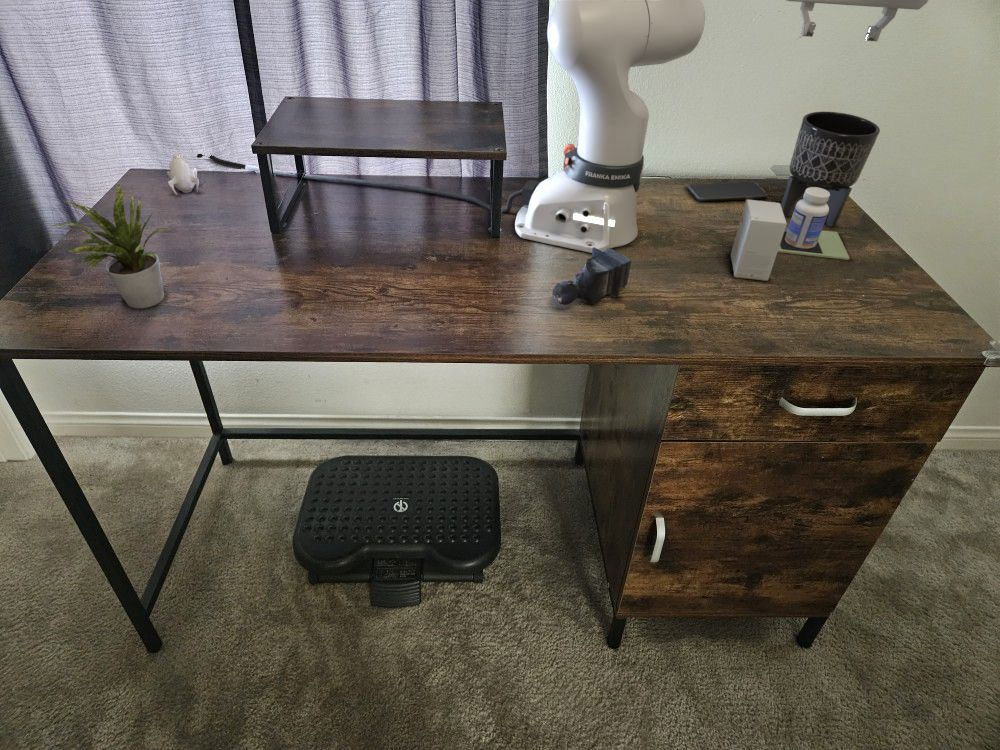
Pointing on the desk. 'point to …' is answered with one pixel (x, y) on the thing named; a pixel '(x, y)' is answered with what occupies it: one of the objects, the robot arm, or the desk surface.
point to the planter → (829, 158)
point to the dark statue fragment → (595, 278)
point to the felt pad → (819, 246)
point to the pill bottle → (808, 218)
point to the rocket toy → (182, 175)
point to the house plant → (124, 253)
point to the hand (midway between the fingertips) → (838, 38)
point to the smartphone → (727, 191)
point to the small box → (757, 239)
